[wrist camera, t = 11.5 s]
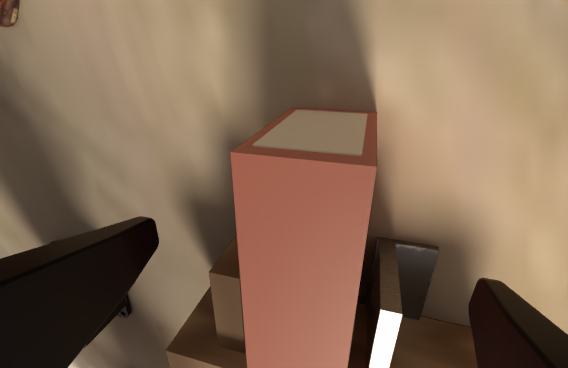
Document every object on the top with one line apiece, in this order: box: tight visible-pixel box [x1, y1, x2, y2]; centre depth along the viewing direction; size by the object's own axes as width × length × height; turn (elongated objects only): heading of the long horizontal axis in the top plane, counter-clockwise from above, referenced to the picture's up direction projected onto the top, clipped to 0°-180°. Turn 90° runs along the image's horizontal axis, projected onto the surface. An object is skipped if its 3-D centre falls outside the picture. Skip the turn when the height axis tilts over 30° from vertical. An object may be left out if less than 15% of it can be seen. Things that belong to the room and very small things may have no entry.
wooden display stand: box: [166, 235, 478, 368], centre depth 15 cm, size 16×6×6 cm, turn 90°
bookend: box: [366, 238, 439, 368], centre depth 15 cm, size 3×6×5 cm, turn 0°
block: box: [230, 108, 377, 368], centre depth 13 cm, size 4×10×7 cm, turn 0°
